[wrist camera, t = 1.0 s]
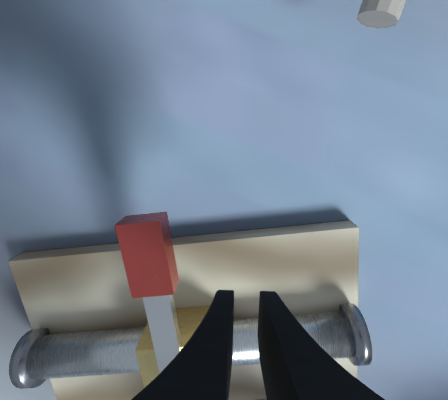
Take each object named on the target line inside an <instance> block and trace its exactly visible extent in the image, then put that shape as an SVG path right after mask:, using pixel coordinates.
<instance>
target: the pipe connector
mask: <svg viewBox="0 0 448 400" xmlns="http://www.w3.org/2000/svg"><path fill="white" fill-rule="evenodd" d="M405 2H406V0H363V2H362V4H361V7H360V10H359V13H358V16H357V20H358V21H359V23H361V24H363V25H365V26H367V27H373V28H388V27H391V26H394V25H396V23H397V22H398V20H399V18H400V15H401V13H402V10H403V7H404V5H405Z"/></svg>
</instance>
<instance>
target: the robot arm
mask: <svg viewBox="0 0 448 400" xmlns="http://www.w3.org/2000/svg"><path fill="white" fill-rule="evenodd" d="M233 324H234V290H218V291H217V292H216V293H215V296H214V299H213V301H212V303H211V305H210V307H209V309H208V311H207V313H206V314H205V316H204V318H203V320H202V321H201V323H200V324H199V326H198V327H197V329H196V330H195V332H194V333H193V335H192V336H191V338H190V339H189V340H188V342H187V343H186V344H185V346H184V347H183V348H182V349H181V351H180V352H179V353H178V354H177V355H176V356H175V358H174V359H173V360H172V361H171V362H170V363H169V364H168V365H167V366H166V367H165V368H164V370H163V371H162V372H161V373H160V374H159V375H158V376H157V377H156V378H155V379H154V380H153V381H152V382H150V383H149V384H148V385H147V386H146V387H145V388H144V389H143V390H141V391H140V392H139V393H138V394H137V395H136V396H135V397H133V398H132V399H131V400H229V390H230V380H231V370H232V359H233ZM257 335H258V348H259V360H260V365H261V371H262V376H263V382H264V387H265V392H266V398H267V400H384V399H383V398H382V397H380V396H379V395H378V394H376V393H375V392H373V391H372V390H371V389H369V388H368V387H367V386H366V385H364V384H363V383H362V382H360V381H359V380H358V379H357V378H355V377H354V376H353V375H352V374H350V373H349V372H348V371H347V370H346V369H344V368H343V367H342V366H341V365H340V364H339V363H338V362H336V361H335V360H334V359H333V358H332V357H331V356H330V355H329V354H328V353H327V352H326V351H325V350H324V349H323V348H322V347H321V346H320V345H319V344H318V343H317V342H316V341H315V340H314V339H313V338H312V337H311V336H310V335H309V333H308V332H307V331H306V330H305V329H304V328H303V326H302V325H301V324H300V323H299V322H298V320H297V319H296V318H295V317H294V316H293V314H292V313H291V312H290V310H289V309H288V308H287V306H286V305H285V304H284V302H283V301H282V300H281V298H280V297H279V295H278V294H277V293H276V292H275V291H260V297H259V315H258V333H257Z"/></svg>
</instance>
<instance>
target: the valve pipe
mask: <svg viewBox="0 0 448 400" xmlns="http://www.w3.org/2000/svg"><path fill="white" fill-rule="evenodd" d="M209 307H210V306H198V307H186V308H175V309H176V314H177V319H178V325H179V330H180V335H181V340H182V346H183V347H184V346H185V344H186V343H187V342H188V340H189V339H190V338H191V336H192V335H193V333H194V332H195V330H196V329H197V327H198V326H199V324H200V323H201V321H202V320H203V318H204V316H205V314H206V313H207V311H208V309H209ZM293 316H294V317H295V318H296V319H297V320H298V322H299V323H300V324H301V325H302V326H303V328H304V329H305V330H306V331H307V332H308V333H309V335H310V336H311V337H312V338H313V339H314V340H315V341H316V342H317V343H318V344H319V345H320V346H321V347H322V348H323V349H324V350H325V351H326V352H327V353H328V354H329V355H330V356H331V357H332V358H333V359H339V358H348V359H349V360H350V362H351V363H352V364H353V365H354V366H362V365H369V364H370V363H371V360H372V346H371V340H370V335H369V332H368V328H367V325H366V323H365V320H364V318H363V316H362V314H361V312H360V310H359V309H358V307H357V306H356V305H355V304H353V303H348V304H340V305H339V312H327V313H314V314H302V315H293ZM257 333H258V318H251V319H239V320H234V324H233V359H232V366H239V365H253V364H260V360H259V348H258V335H257ZM138 372H140V373H141V377H142V381H143V385H144V388H145V387H146V386H147V385H148V384H149V383H150V382H152V381H153V380H154V379H155V378H156V377H157V376H158V375H159V374H160V373H159V369H158V364H157V360H156V355H155V351H154V346H153V342H152V338H151V333H150V329H149V324H148V322H147V324H146V326H145V327H138V328H126V329H113V330H101V331H88V332H76V333H63V334H50V331H49V328H40V329H33V330H30V331H28V332H27V333H26V334H24V335H23V336H22V338H21V339H20V340H19V341H18V343H17V344H16V346H15V348H14V350H13V353H12V356H11V359H10V365H9V375H10V379H11V382H12V384H13V385H14V386H15V387H17V388H20V389H23V388H35V387H37V386H39V385H41V384H42V383H43V382H44V381H45V380H46V379H52V378H67V377H81V376H95V375H110V374H124V373H138Z"/></svg>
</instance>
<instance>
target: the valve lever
mask: <svg viewBox="0 0 448 400" xmlns="http://www.w3.org/2000/svg"><path fill="white" fill-rule="evenodd" d="M115 229H116V233H117V238H118V242H119V246H120V250H121V254H122V259H123V263H124V267H125V271H126V276H127V280H128V284H129V288H130V293H131V297H132V298H141V297H143V302H144V306H145V311H146V315H147V320H148V324H149V329H150V333H151V338H152V342H153V346H154V351H155V355H156V360H157V364H158V369H159V373H161V372H162V371H163V370H164V368H165V367H166V366H167V365H168V364H169V363H170V362H171V361H172V360H173V359H174V358H175V356H176V355H177V354H178V353H179V352H180V351H181V349H182V348H183V346H182V340H181V335H180V330H179V325H178V319H177V314H176V309H175V304H174V298H173V295H174V293H175V290H176V287H177V284H178V281H179V276H178V271H177V265H176V260H175V254H174V249H173V243H172V238H171V232H170V226H169V221H168V215H167V212H159V213H150V214H140V215H130V216H125V217H124V218H123V219H122V220H120V221H119V222H118V223H117V224H116V225H115Z"/></svg>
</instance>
